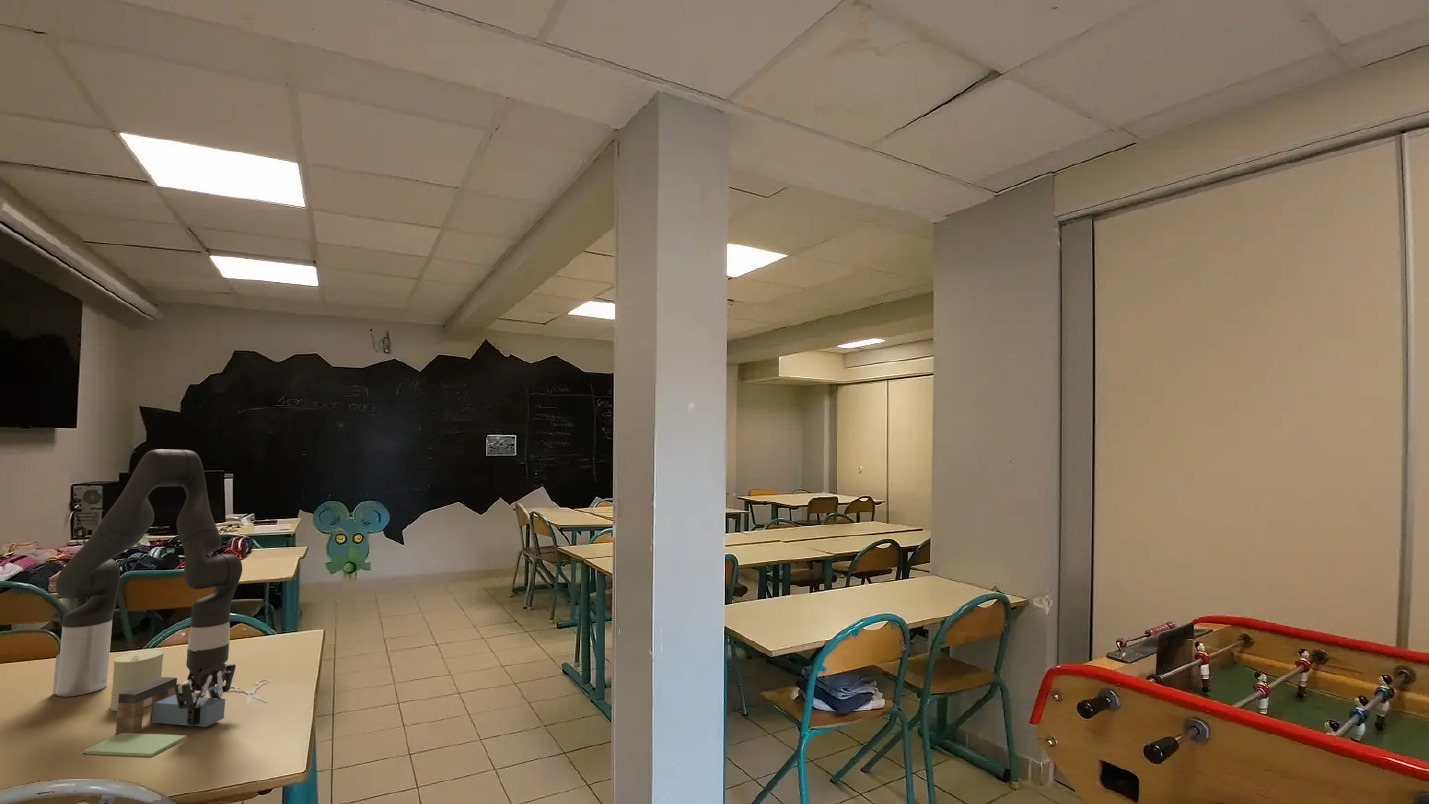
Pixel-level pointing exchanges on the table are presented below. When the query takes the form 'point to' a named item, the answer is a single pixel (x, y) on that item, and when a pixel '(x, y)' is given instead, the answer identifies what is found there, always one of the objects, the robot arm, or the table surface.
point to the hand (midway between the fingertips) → (203, 719)
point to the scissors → (250, 693)
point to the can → (135, 673)
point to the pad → (135, 744)
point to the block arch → (141, 702)
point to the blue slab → (171, 713)
